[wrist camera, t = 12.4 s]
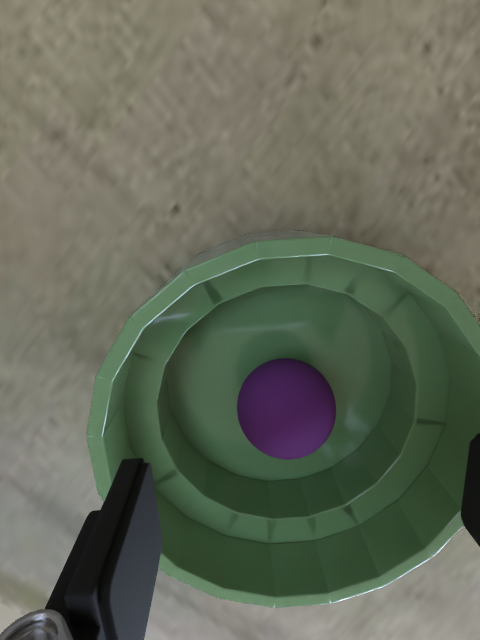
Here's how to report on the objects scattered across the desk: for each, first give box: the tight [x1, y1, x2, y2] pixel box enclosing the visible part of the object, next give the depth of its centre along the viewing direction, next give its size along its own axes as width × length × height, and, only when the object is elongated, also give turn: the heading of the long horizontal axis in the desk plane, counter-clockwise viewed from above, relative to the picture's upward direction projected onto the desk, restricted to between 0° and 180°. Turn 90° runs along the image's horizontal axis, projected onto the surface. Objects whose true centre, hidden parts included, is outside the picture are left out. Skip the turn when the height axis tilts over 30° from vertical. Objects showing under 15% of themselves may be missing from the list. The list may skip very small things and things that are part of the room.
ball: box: [237, 358, 336, 460], centre depth 17 cm, size 4×4×4 cm
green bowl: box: [86, 230, 480, 608], centre depth 17 cm, size 15×15×6 cm
